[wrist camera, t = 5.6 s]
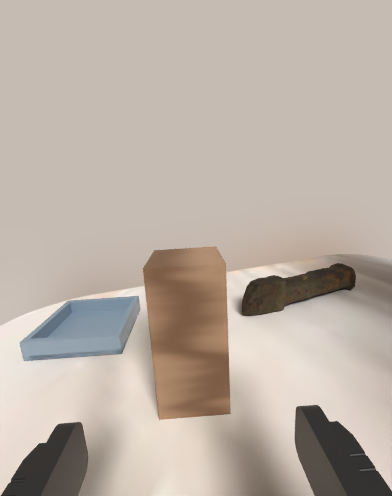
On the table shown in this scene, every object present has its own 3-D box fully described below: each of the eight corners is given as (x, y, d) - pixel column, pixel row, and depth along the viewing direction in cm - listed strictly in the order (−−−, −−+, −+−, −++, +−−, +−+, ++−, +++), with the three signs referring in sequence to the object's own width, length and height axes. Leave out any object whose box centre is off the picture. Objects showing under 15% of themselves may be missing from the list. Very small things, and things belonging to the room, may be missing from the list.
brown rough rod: (332, 284, 39) (333, 256, 38) (356, 292, 36) (358, 261, 35) (231, 310, 32) (230, 277, 32) (248, 323, 29) (247, 287, 28)
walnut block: (220, 364, 22) (215, 246, 19) (230, 413, 17) (225, 263, 14) (165, 369, 22) (154, 250, 19) (159, 419, 17) (142, 268, 14)
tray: (140, 309, 33) (138, 296, 33) (121, 353, 24) (119, 335, 24) (70, 314, 33) (68, 300, 33) (23, 360, 24) (19, 342, 23)
